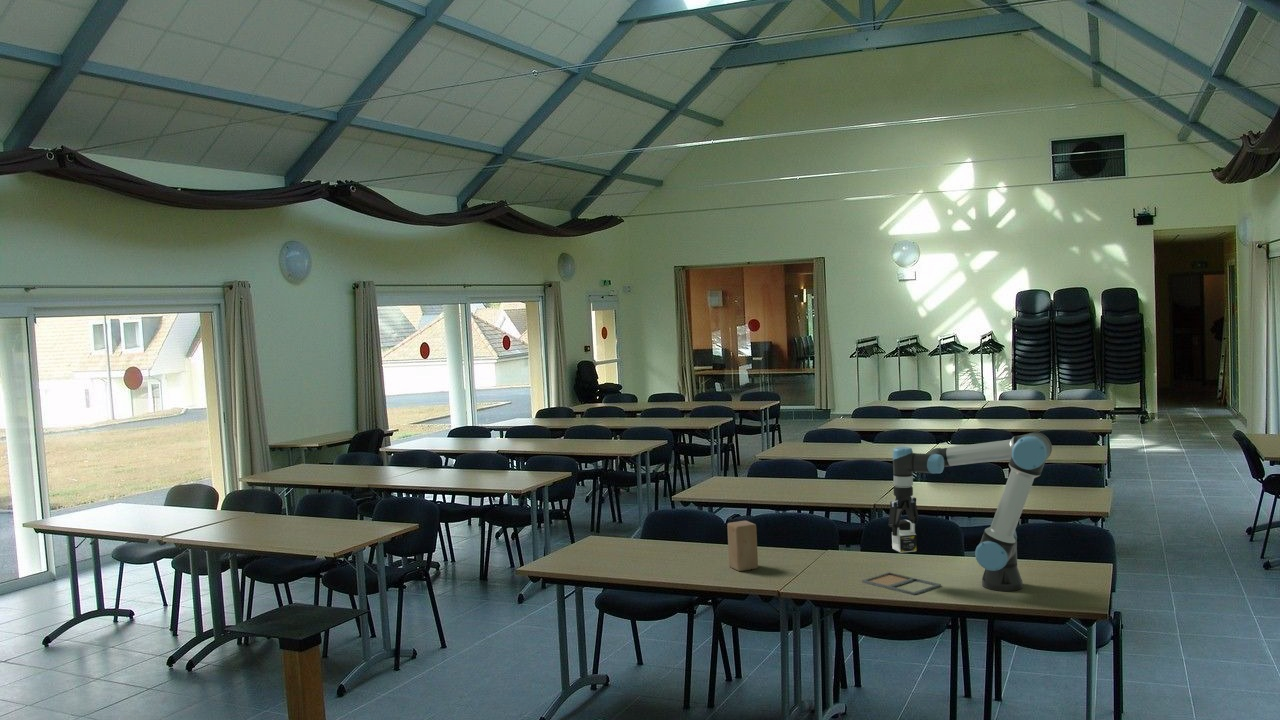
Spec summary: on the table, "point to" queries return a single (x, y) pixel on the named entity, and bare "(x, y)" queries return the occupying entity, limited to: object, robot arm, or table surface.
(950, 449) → the robot arm
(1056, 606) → the table surface
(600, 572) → the table surface
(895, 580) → the grey divided frame
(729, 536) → the wooden block
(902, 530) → the medicine bottle
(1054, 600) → the table surface
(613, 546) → the table surface
